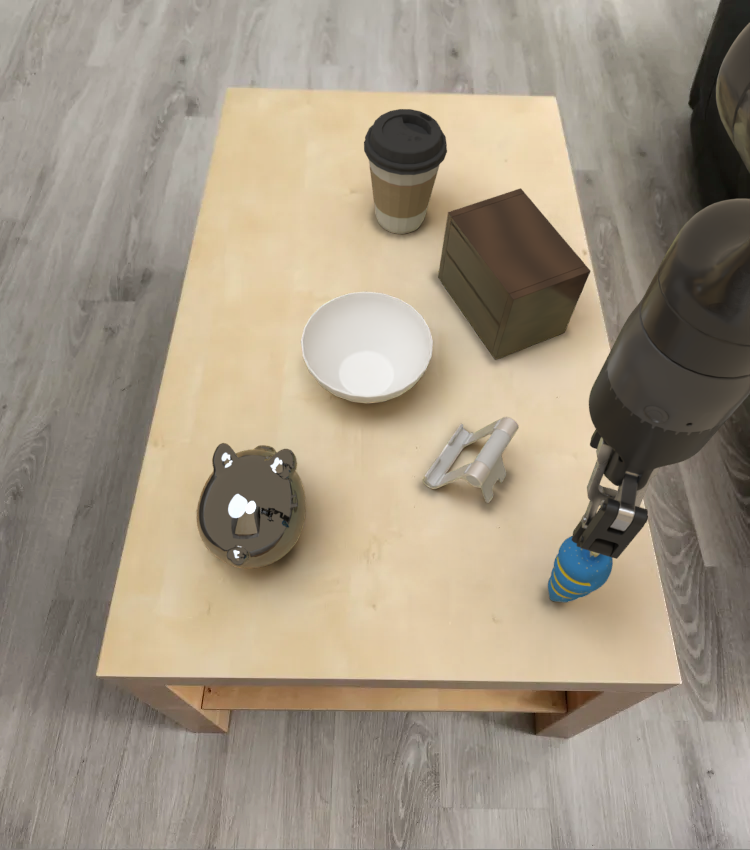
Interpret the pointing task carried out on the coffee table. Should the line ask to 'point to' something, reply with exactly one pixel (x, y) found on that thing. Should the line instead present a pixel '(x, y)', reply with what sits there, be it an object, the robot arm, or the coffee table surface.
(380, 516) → the coffee table surface
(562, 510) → the coffee table surface
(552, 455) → the coffee table surface
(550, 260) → the wooden drawer cabinet
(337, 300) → the bowl
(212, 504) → the piggy bank
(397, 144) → the coffee cup
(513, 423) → the tablet stand
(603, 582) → the ornament
